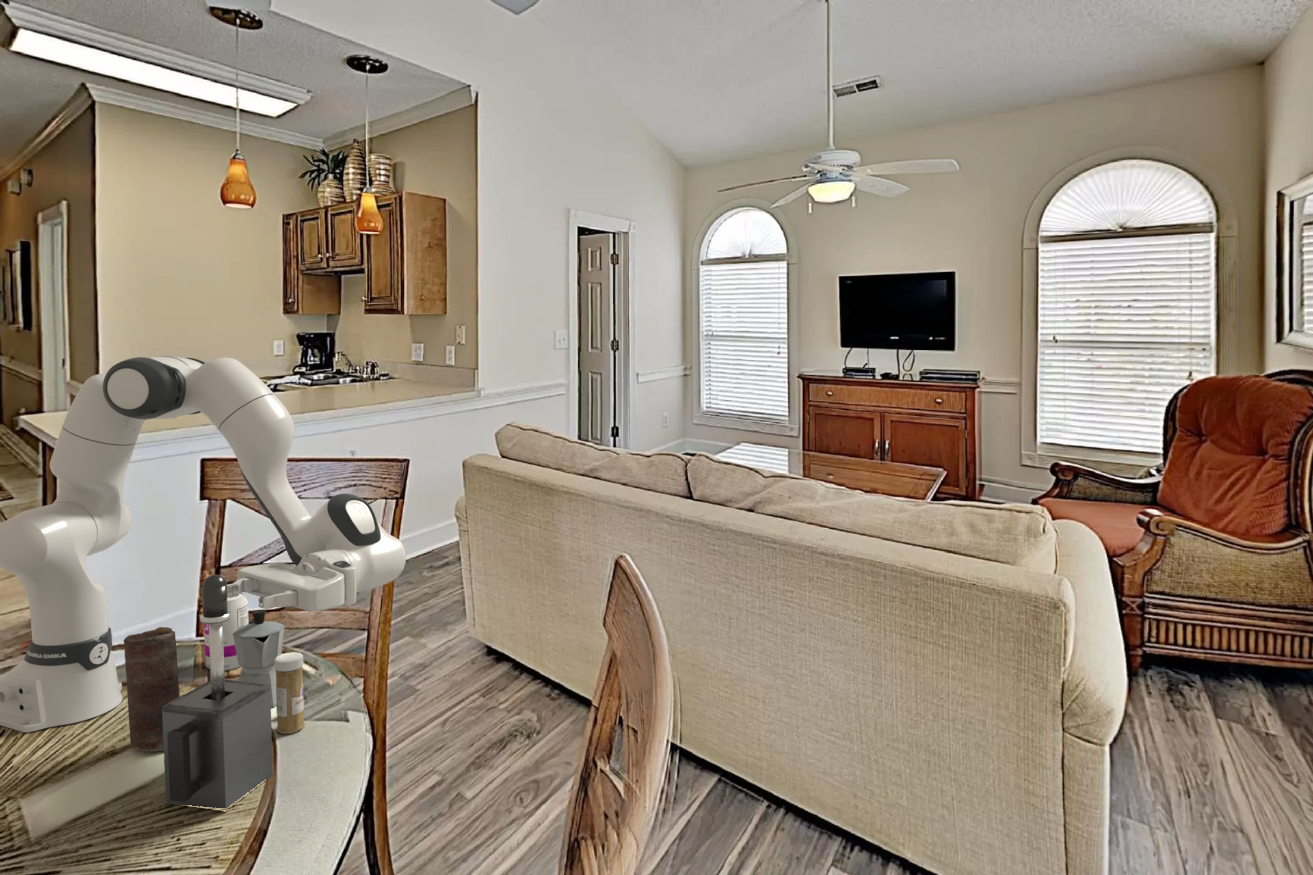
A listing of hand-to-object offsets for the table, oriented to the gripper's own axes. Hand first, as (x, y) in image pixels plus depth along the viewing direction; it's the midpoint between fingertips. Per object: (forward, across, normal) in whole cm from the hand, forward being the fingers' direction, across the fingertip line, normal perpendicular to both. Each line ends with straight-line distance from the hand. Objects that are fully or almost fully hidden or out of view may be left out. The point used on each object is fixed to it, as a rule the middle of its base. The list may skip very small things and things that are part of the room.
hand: (242, 597), depth 115 cm
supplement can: (-23, -45, +29) cm, 58 cm away
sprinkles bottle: (-13, -8, +29) cm, 33 cm away
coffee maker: (-17, -23, +29) cm, 41 cm away
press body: (+6, +1, +29) cm, 30 cm away
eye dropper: (+4, 0, +17) cm, 18 cm away
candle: (+2, -22, +29) cm, 37 cm away
